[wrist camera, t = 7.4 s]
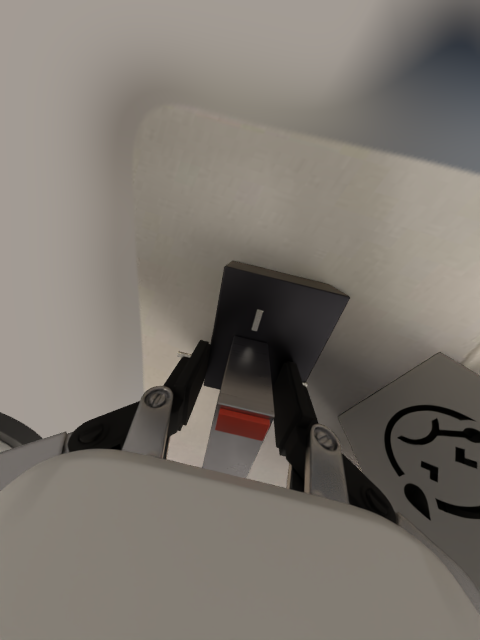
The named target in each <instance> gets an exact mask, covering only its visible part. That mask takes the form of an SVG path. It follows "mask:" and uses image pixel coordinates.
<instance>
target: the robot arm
mask: <svg viewBox="0 0 480 640" xmlns="http://www.w3.org/2000/svg"><path fill="white" fill-rule="evenodd" d="M210 348H211V345H210V344H209V342H207V341H203V340H200V341H199V343H198V345H197V347H196V348H195V350H194V352H193V353H192V355H191V357H185V356H183V357H182V358H181V360H180V361H179V363H178V364H177V366H176V367H175V369H174V370H173V372H172V373H171V375H170V376H169V378H168V379H167V381H166V382H165V384H164V385H163V386H156V387H153V388H150V389H149V390H147V391H146V392H145V393H144V394H143V396H142V398H141V400H140V401H139V402H136V403H133V404H131V405H128V406H126V407H123V408H120V409H118V410H115V411H113V412H110V413H107V414H105V415H102V416H99V417H97V418H94V419H92V420H89V421H87V422H85V423H83V424H82V425H81V426H79V427H78V428H77V429H76V430H75V431H74V432H71V433H68V434H67V433H66V432H63V433H60V434H57V435H53V436H50V437H47V438H44V439H41V440H38V441H35V442H32V443H29V444H26V445H22V446H19V447H16V448H12V447H11V446H10V445H8V444H6V443H5V442H3V441H1V440H0V640H480V591H479V589H478V587H477V586H476V584H475V583H474V582H473V580H472V579H471V578H470V576H469V575H468V574H467V573H466V572H465V571H464V570H463V569H462V568H461V567H460V565H459V564H458V563H456V562H455V561H454V560H453V559H452V558H451V557H450V556H449V555H447V554H446V553H445V552H444V551H443V550H442V549H441V548H439V547H438V546H437V545H436V544H435V543H434V542H433V541H432V540H430V539H429V538H428V537H427V536H426V535H425V534H424V533H423V532H421V531H420V530H419V529H418V528H417V527H416V526H415V525H413V524H412V523H411V522H410V521H409V520H408V519H407V518H406V517H404V516H403V515H402V514H401V513H400V512H397V513H396V512H395V511H394V509H393V507H392V505H391V503H390V502H389V500H388V499H387V497H386V496H385V495H384V494H383V492H382V491H381V490H380V489H379V488H378V487H377V486H376V485H375V484H374V483H373V482H371V481H370V480H369V479H368V478H367V477H366V476H365V475H364V474H363V473H362V472H361V471H360V470H359V469H358V468H357V467H356V466H355V465H354V464H353V463H352V462H351V461H350V460H349V459H348V458H346V457H345V456H344V455H343V454H342V451H341V445H340V442H339V440H338V438H337V436H336V435H335V434H334V432H333V431H331V430H330V429H329V428H328V427H326V426H325V425H322V424H319V423H318V420H317V417H316V414H315V411H314V408H313V405H312V402H311V399H310V396H309V393H308V390H307V388H306V386H305V385H303V382H302V379H301V376H300V373H299V370H298V367H297V364H296V363H293V362H289V361H287V363H284V364H283V366H282V369H281V371H280V373H279V376H278V378H277V380H276V383H275V385H274V388H273V390H272V393H273V403H274V414H275V417H274V427H275V439H276V447H277V448H279V453H280V455H282V456H286V459H287V460H288V462H289V469H288V477H287V486H286V488H283V487H279V486H275V485H271V484H267V483H262V482H258V481H254V480H250V479H246V478H242V477H238V476H233V475H229V474H225V473H221V472H217V471H213V470H208V469H204V468H200V467H196V466H191V465H187V464H183V463H178V462H174V461H170V460H166V459H167V453H168V447H169V441H170V436H171V435H173V434H175V433H177V430H178V431H181V428H182V426H183V425H187V422H188V420H189V417H190V415H191V412H192V410H193V407H194V405H195V402H196V400H197V397H198V394H199V392H200V389H201V387H202V384H203V382H204V379H205V376H206V371H207V366H208V360H209V354H210Z"/></svg>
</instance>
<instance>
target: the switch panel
mask: <svg viewBox="0 0 480 640" xmlns="http://www.w3.org/2000/svg"><path fill="white" fill-rule="evenodd" d="M349 299H350V297H349V296H348V295H346V294H344V293H343V292H341V291H339V290H338V289H336V288H334V287H333V286H331V285H329V284H325V283H321V282H317V281H313V280H309V279H305V278H301V277H297V276H293V275H289V274H285V273H281V272H277V271H273V270H269V269H265V268H261V267H257V266H253V265H248V264H244V263H240V262H236V261H231V262H230V263H229V264H227V265H226V266H225V267H224V272H223V278H222V284H221V289H220V295H219V301H218V306H217V312H216V318H215V323H214V329H213V335H212V340H211V348H210V354H209V360H208V366H207V371H206V376H205V380H204V386H207V387H212V388H216V389H221V385H222V382H223V378H224V374H225V370H226V366H227V362H228V358H229V354H230V350H231V346H232V342H233V338H234V336H237V337H242V338H246V339H250V340H254V341H258V342H263V343H267V344H268V352H269V362H270V372H271V383H272V390H273V388H274V385H275V383H276V380H277V378H278V376H279V373H280V371H281V369H282V366H283V364H284V363H287V361H289V362H293V363H296V364H297V367H298V370H299V373H300V376H301V379H302V382H303V385H305V386H306V387H307V385H308V383H307V382H306V380H307V378H308V376H309V375H310V373H311V371H312V369H313V367H314V365H315V363H316V361H317V359H318V358H319V356H320V354H321V352H322V350H323V348H324V346H325V344H326V342H327V341H328V339H329V337H330V335H331V333H332V331H333V329H334V327H335V325H336V323H337V322H338V320H339V318H340V316H341V314H342V312H343V310H344V308H345V306H346V305H347V303H348V301H349ZM191 355H192V354H188V353H184V352H180V351H178V356H177V357H181V358H182V357H183V356H185V357H191Z"/></svg>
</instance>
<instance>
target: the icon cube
mask: <svg viewBox="0 0 480 640" xmlns="http://www.w3.org/2000/svg"><path fill="white" fill-rule="evenodd" d="M338 419H339V421H340V423H341V425H342V427H343V430H344V432H345V434H346V436H347V438H348V441H349V443H350V445H351V447H352V449H353V452H354V454H355V456H356V458H357V460H358V463H359V465H360V467H361V469H362V471H363V473H364V475H365V476H366V477H367V478H368V479H369V480H370V481H371V482H373V483H374V484H375V485H376V486H377V487H378V488H379V489H380V490H381V491H382V492H383V494H384V495H385V496H386V497H387V499H388V500H389V502H390V503H391V505H392V507H393V509H394V511H395V512H396V513H397V512H400V513H401V514H402V515H403V516H404V517H406V518H407V519H408V520H409V521H410V522H411V523H412V524H413V525H415V526H416V527H417V528H418V529H419V530H420V531H421V532H423V533H424V534H425V535H426V536H427V537H428V538H429V539H430V540H432V541H433V542H434V543H435V544H436V545H437V546H438V547H439V548H441V549H442V550H443V551H444V552H445V553H446V554H447V555H449V556H450V557H451V558H452V559H453V560H454V561H455V562H456V563H458V564H459V565H460V567H461V568H462V569H463V570H464V571H465V572H466V573H467V574H468V575H469V576H470V578H471V579H472V580H473V582H474V583H475V584H476V586H477V587H478V589H479V591H480V376H479V375H477V374H476V373H474V372H473V371H471V370H469V369H468V368H466V367H464V366H463V365H461V364H459V363H458V362H456V361H454V360H453V359H451V358H449V357H448V356H446V355H444V354H443V353H441V352H439V353H438V354H436V355H435V356H433V357H431V358H430V359H428V360H427V361H425V362H424V363H422V364H420V365H419V366H417V367H416V368H414V369H413V370H411V371H409V372H408V373H406V374H405V375H403V376H402V377H400V378H398V379H397V380H395V381H394V382H392V383H391V384H389V385H387V386H386V387H384V388H383V389H381V390H380V391H378V392H376V393H375V394H373V395H372V396H370V397H368V398H367V399H365V400H364V401H362V402H361V403H359V404H357V405H356V406H354V407H353V408H351V409H350V410H348V411H346V412H345V413H343V414H342V415H340V416H339V417H338Z"/></svg>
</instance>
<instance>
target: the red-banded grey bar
mask: <svg viewBox="0 0 480 640" xmlns="http://www.w3.org/2000/svg"><path fill="white" fill-rule="evenodd" d="M274 417H275V414H274V403H273V393H272V383H271V372H270V362H269V352H268V344H267V343H263V342H258V341H254V340H250V339H246V338H242V337H237V336H234V338H233V342H232V346H231V350H230V354H229V358H228V362H227V366H226V370H225V374H224V378H223V382H222V385H221V389H220V393H219V397H218V401H217V405H216V410H215V414H214V419H213V423H212V427H211V432H210V436H209V440H208V445H207V449H206V454H205V458H204V462H203V467H202V468H204V469H208V470H213V471H217V472H221V473H225V474H229V475H233V476H238V477H242V478H246V477H247V475H248V473H249V471H250V469H251V466H252V464H253V462H254V460H255V458H256V456H257V454H258V451H259V449H260V447H261V445H262V443H263V441H264V439H265V436H266V434H267V432H268V430H269V428H270V426H271V424H272V421H273V419H274Z"/></svg>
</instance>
